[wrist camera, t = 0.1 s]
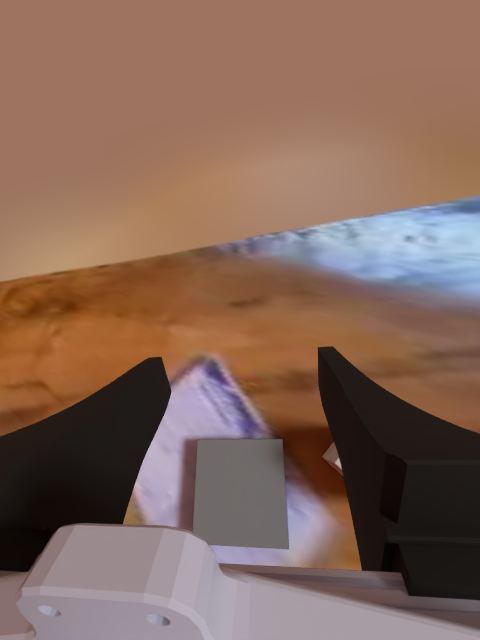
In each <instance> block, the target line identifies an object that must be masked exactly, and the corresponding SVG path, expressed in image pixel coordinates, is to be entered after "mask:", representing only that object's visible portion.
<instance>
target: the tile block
mask: <svg viewBox="0 0 480 640" xmlns="http://www.w3.org/2000/svg"><path fill="white" fill-rule="evenodd" d="M193 533H194V534H196V535H198V536H200V537H202V538H204V540H205V541H206V542H207V544H208V545H220V546H239V547H257V548H276V549H289V534H288V517H287V501H286V484H285V467H284V450H283V439H211V440H198V443H197V461H196V480H195V498H194V516H193Z"/></svg>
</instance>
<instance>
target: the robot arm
mask: <svg viewBox="0 0 480 640" xmlns="http://www.w3.org/2000/svg"><path fill="white" fill-rule="evenodd" d="M318 383H319V391H320V396H321V401H322V406H323V409H324V412H325V415H326V419H327V422H328V425H329V428H330V431H331V434H332V437H333V440H334V443H335V446H336V449H337V452H338V456H339V460H340V463H341V468H342V473H343V477H344V482H345V486H346V491H347V496H348V501H349V505H350V510H351V515H352V520H353V525H354V530H355V535H356V540H357V545H358V551H359V556H360V561H361V567H362V571H359V570H339V569H319V568H300V567H280V566H261V565H241V564H221V563H218V562H217V558H216V555H215V553H214V552H213V550H212V549H211V547H210V546H209V545H208V544H207V542H206V541H205V540H204V538H202V537H200V536H198V535H196V534H194V533H192V532H191V531H189V530H187V529H181V528H176V527H171V526H157V525H126V524H123V521H124V518H125V514H126V510H127V507H128V504H129V501H130V498H131V494H132V491H133V488H134V485H135V482H136V479H137V476H138V473H139V470H140V468H141V465H142V462H143V460H144V457H145V455H146V453H147V450H148V448H149V446H150V444H151V442H152V440H153V438H154V435H155V433H156V431H157V429H158V427H159V425H160V423H161V420H162V418H163V416H164V414H165V411H166V408H167V405H168V402H169V399H170V395H171V388H170V385H169V381H168V378H167V375H166V371H165V368H164V364H163V361H162V358H161V357H152V358H148V359H146V360H144V361H142V362H141V363H139V364H138V365H136V366H135V367H133V368H132V369H130V370H129V371H127V372H126V373H125V374H123V375H122V376H120V377H119V378H117V379H116V380H114V381H113V382H111V383H110V384H108V385H107V386H105V387H103V388H102V389H100V390H99V391H97V392H96V393H94V394H92V395H91V396H89V397H87V398H86V399H84V400H82V401H80V402H78V403H76V404H75V405H73V406H71V407H69V408H67V409H65V410H63V411H61V412H59V413H57V414H54V415H52V416H50V417H48V418H46V419H44V420H42V421H39V422H37V423H35V424H32V425H30V426H27V427H25V428H22V429H20V430H17V431H14V432H12V433H9V434H6V435H4V436H1V437H0V640H480V434H478V433H476V432H473V431H470V430H467V429H464V428H462V427H459V426H457V425H454V424H452V423H449V422H447V421H445V420H442V419H440V418H438V417H435V416H433V415H431V414H429V413H427V412H425V411H423V410H421V409H419V408H417V407H415V406H413V405H411V404H409V403H407V402H405V401H403V400H402V399H400V398H398V397H397V396H395V395H393V394H392V393H390V392H388V391H387V390H385V389H384V388H382V387H381V386H379V385H378V384H376V383H375V382H374V381H372V380H371V379H369V378H368V377H367V376H365V375H364V374H363V373H362V372H360V371H359V370H358V369H357V368H356V367H354V366H353V365H352V364H351V363H350V362H349V361H348V360H347V359H346V358H344V357H343V356H342V355H341V354H340V353H339V352H338V351H337V350H336V349H335V348H334V347H333V346H332V347H318Z"/></svg>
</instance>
